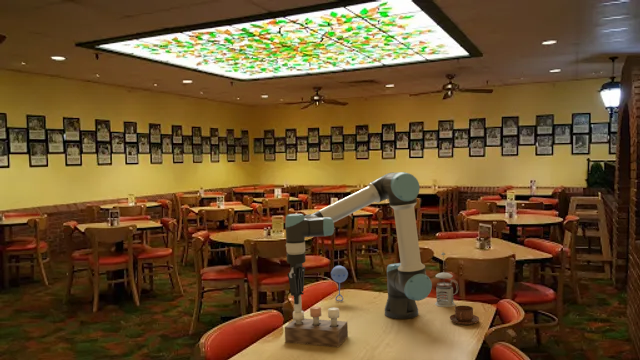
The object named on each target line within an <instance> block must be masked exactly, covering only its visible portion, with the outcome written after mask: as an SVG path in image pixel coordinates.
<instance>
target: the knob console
mask: <svg viewBox="0 0 640 360" xmlns="http://www.w3.org/2000/svg"><path fill="white" fill-rule="evenodd" d="M348 329H349V328H348V321H342V320H337V327H331V319H330V320H329V319H319V326H313V318H305V317H304V320H302V324H296V321H294V320H293V319H292V321H290V322H289V323H288V324H287V325H285V326H284V341H285V343H289V344H300V345H301V344H303V345H310V346H311V345H313V346H320V347H323V346H324V347H330V348H331V347H333V348H340V346H341V345H342V344H343V343H344V342H345V341H346V340H347V338H348V337H349V331H348Z"/></svg>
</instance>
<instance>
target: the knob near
mask: <svg viewBox="0 0 640 360" xmlns="http://www.w3.org/2000/svg"><path fill="white" fill-rule="evenodd" d="M327 317H328V319H330V320H331V327H337V321H338V319H339V318H340V308H339V307H330V308H329V307H328V309H327Z"/></svg>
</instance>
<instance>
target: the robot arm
mask: <svg viewBox="0 0 640 360" xmlns="http://www.w3.org/2000/svg"><path fill="white" fill-rule="evenodd" d="M420 187H421V186H420V182H419V181H418V179H417V177H416V176H414V174H411V173H409V172H406V171H402V172H389V173H385V174H384V175H382V176H380V177H378V178H377V179H374V180H373V181H370V182H369V183H368V184H367V186H366V187H364V188H362V189H360V190H358V191H355V192H354V193H352V194H350V195H348V196H345V197H344V198H341V199H339V200H338V201H335V202H334V203H331V204H329V205H328V206H326V207H323V208H322V209H319V210H317V211H316V212H313V213H312V214H311V213H310V214H305V215H304V214H303V213H288V214H287V215H285V227H284V228H285V243H286V244H285V248H286V263H287V264H289V265H290V268H289V272H287V278H288V284H289V290H290V291H289V292H290V296H291V297H293V312H301V311H303V306H302V303H303V301H302V295H304V292H305V291H304V290H305V289H304V288H305V286H304V285H305V272H306V267H305V266H303V264H305V262H306V253H305V252H306V238H311V237H312V238H313V237H314V238H316V237H329V236H332V235H333V234H334V232H335V223H336V222H338V221H339V220H342V219H344V218H346V217H348V216H350V215H352V214H354V213H356V212H358V211H359V210H362V209H363V208H366V207H368V206H369V205H372V204H374V203H378V204H379V203H380V202H383V201H387V200H388V205H389V207H390V208H392V209H393V215H394V223H395V230H396V237H397V246H398V252H399V259H400V261H399V262H398V263H391V264H387V267H386V279H387V281H386V282H387V283H386V284H387V285H386V286H387V299H386V303H385V306H384V315H385V316H386V317H387V318H391V319H396V320H397V319H398V320H405V319H406V320H407V319H413V318H416V317H418V316H419V308H418V305H417V302H419V301H422V300H424V299H426V298H428V296H429V294H431V290H432V287H433V283H432V280H431V279H430V277H429V276H428V275H427V271H426V269H427V268H426V265H425V264H424V263H422V260H421V252H420V251H421V250H420V244H419V236H418V229H417V220H416V212H415V206H416V205H417V204H418V199H417V197H418V195H419V194H420V190H421V188H420ZM416 301H417V302H416Z"/></svg>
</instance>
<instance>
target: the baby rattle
mask: <svg viewBox="0 0 640 360" xmlns="http://www.w3.org/2000/svg"><path fill="white" fill-rule="evenodd" d="M330 276H331V279H332V280H333V281H334V282H335V283H338V294H337V295H336V296H335V298H334V299H335V301H337V302H342V301H344V296H343V295H341V283H344V282H345V281H346V280H347V278H348V276H349V272H348V270H347V268H346V267H345V266H342V265H335V266H334V267H333V268H332V269H331V271H330ZM338 297H341V298H340V299H337V298H338Z"/></svg>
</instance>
